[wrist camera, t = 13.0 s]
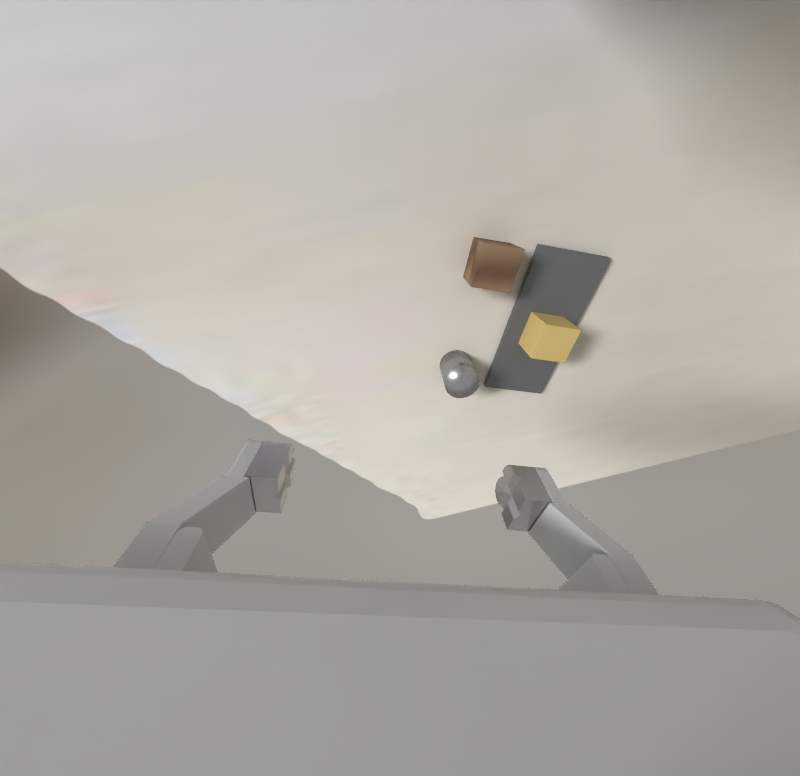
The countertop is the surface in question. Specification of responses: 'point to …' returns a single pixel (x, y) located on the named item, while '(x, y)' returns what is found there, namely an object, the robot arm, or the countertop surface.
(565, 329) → the mustard block
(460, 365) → the metal canister
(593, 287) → the rubber mat
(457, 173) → the countertop surface
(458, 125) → the countertop surface
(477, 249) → the walnut block
